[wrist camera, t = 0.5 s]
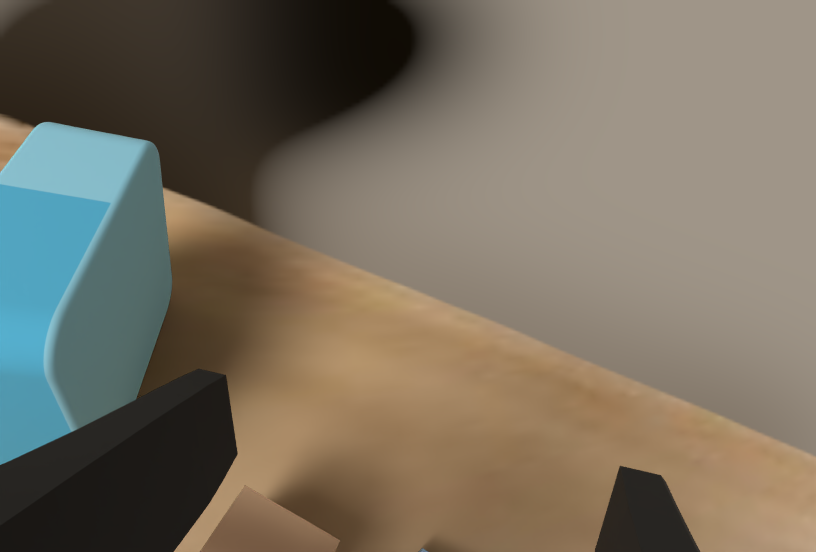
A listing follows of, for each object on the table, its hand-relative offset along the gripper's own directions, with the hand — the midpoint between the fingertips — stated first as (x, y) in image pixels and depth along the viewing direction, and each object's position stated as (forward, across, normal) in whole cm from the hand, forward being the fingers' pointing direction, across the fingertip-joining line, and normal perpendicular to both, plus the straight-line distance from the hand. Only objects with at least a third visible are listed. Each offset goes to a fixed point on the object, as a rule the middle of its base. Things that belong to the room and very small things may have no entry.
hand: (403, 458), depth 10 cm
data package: (+11, +20, +11) cm, 25 cm away
